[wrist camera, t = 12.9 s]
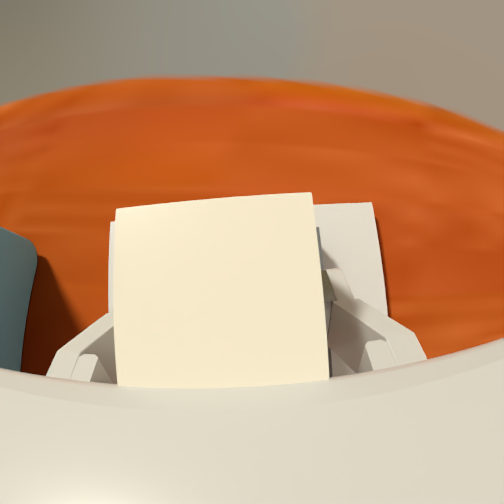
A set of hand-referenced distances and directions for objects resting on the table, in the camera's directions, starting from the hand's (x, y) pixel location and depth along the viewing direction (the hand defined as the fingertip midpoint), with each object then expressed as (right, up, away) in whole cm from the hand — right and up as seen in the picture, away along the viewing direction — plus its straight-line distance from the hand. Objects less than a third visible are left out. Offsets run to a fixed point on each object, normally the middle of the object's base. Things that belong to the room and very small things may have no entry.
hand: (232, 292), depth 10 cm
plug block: (0, -2, +5) cm, 5 cm away
